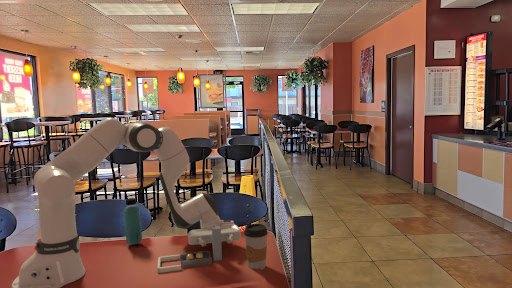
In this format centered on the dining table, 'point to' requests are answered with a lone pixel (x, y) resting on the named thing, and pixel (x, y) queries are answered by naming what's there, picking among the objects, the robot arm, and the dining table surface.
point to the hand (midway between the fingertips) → (216, 242)
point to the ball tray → (168, 268)
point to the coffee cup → (256, 245)
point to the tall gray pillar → (216, 243)
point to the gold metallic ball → (189, 257)
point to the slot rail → (195, 262)
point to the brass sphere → (199, 256)
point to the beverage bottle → (132, 222)
